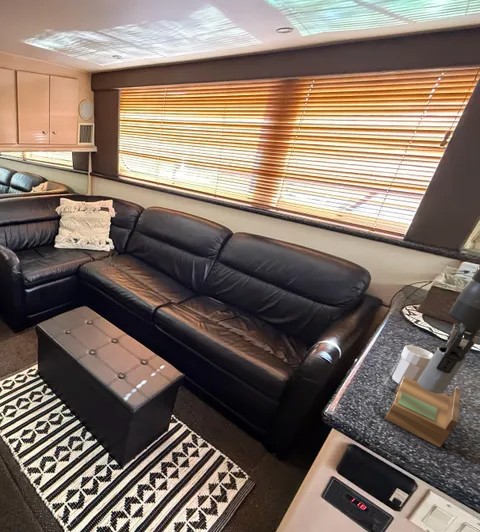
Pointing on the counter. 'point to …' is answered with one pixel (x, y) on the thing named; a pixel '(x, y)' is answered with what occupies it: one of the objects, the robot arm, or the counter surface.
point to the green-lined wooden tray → (424, 411)
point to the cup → (412, 363)
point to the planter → (437, 373)
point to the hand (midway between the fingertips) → (443, 366)
